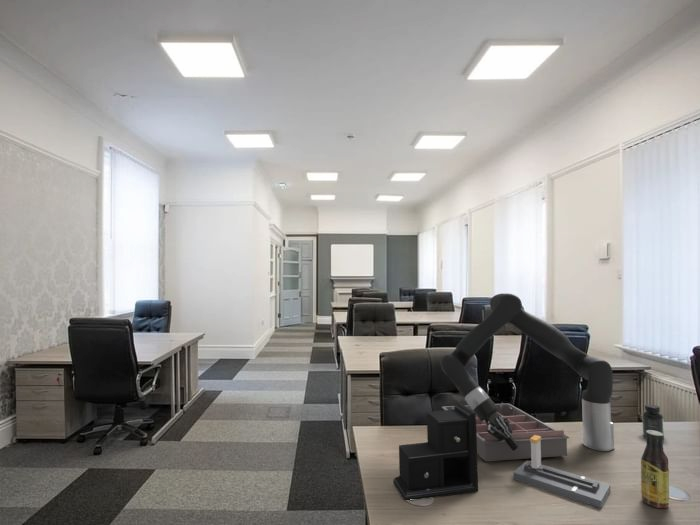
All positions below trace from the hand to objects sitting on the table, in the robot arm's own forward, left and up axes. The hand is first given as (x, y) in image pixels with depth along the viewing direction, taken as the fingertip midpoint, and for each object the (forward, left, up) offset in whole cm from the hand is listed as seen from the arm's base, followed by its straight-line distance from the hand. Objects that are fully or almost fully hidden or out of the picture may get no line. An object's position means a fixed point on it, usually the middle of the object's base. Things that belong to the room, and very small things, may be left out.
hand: (516, 448), depth 132 cm
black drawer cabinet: (+30, +10, -8) cm, 32 cm away
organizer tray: (-4, -26, -8) cm, 27 cm away
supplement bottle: (-68, -28, -7) cm, 74 cm away
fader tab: (-4, +4, -5) cm, 8 cm away
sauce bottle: (-30, +20, -7) cm, 37 cm away
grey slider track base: (-9, +9, -7) cm, 15 cm away
